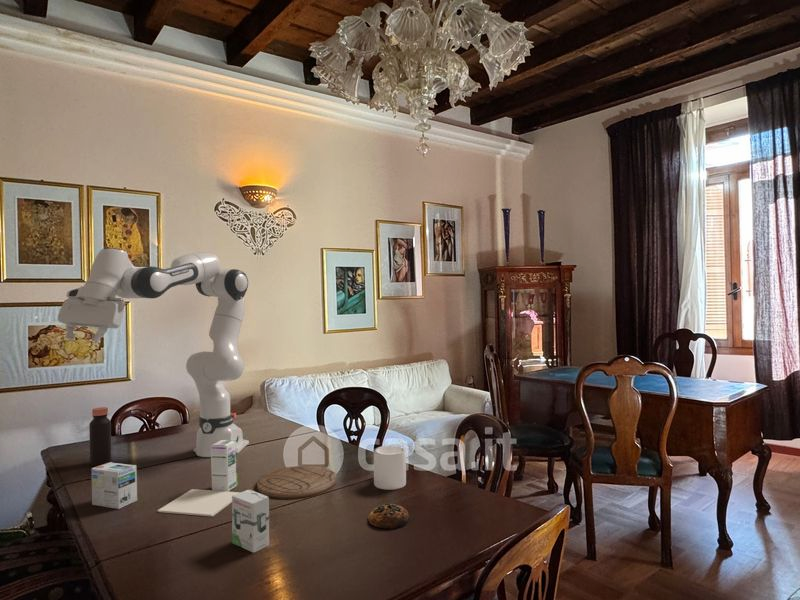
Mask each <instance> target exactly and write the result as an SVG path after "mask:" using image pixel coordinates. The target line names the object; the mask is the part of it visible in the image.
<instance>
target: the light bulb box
mask: <svg viewBox="0 0 800 600" xmlns="http://www.w3.org/2000/svg"><path fill="white" fill-rule="evenodd" d="M137 481H138V478H137V464H125V463H117V462H112V461H111V462H109V463H107V464H104V465H98V466H95V467H92V468H91V505H92V506H99V507H105V508H110V509H115V510H116V509H117V510H120V509H121V508H125V507H126V506H128V505H130V504H132V503H135V502H137V501H138V486H137V485H138V482H137Z"/></svg>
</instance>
